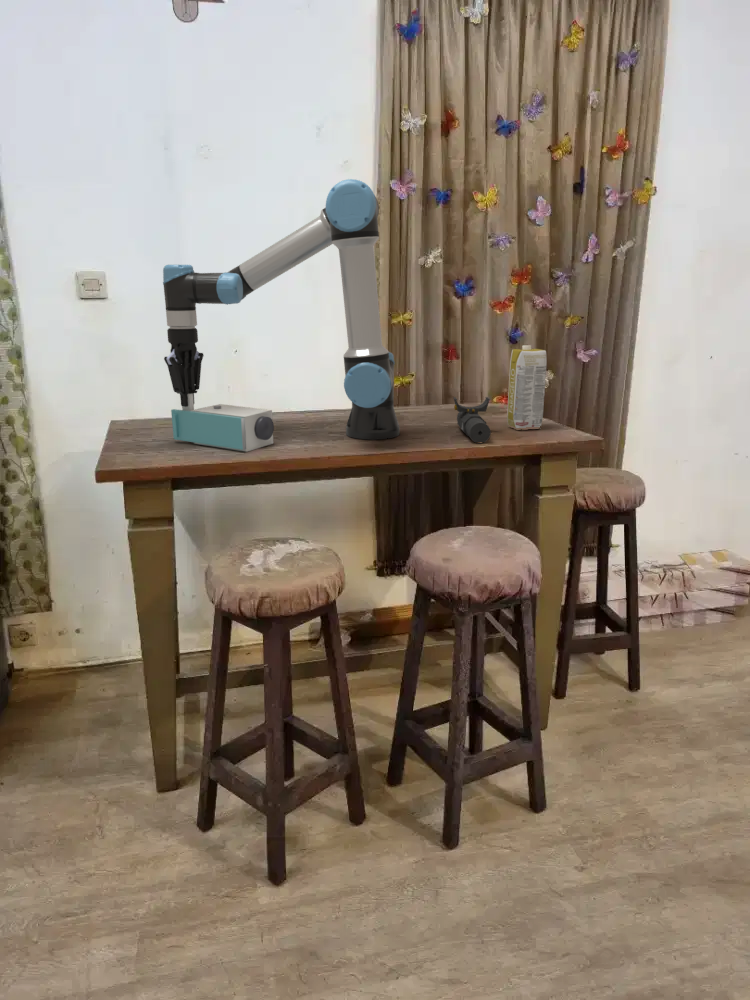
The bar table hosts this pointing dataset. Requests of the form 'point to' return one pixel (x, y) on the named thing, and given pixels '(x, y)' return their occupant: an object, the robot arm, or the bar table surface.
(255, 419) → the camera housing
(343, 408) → the bar table surface
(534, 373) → the juice carton
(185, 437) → the side door
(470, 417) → the laser sight
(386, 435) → the robot arm
